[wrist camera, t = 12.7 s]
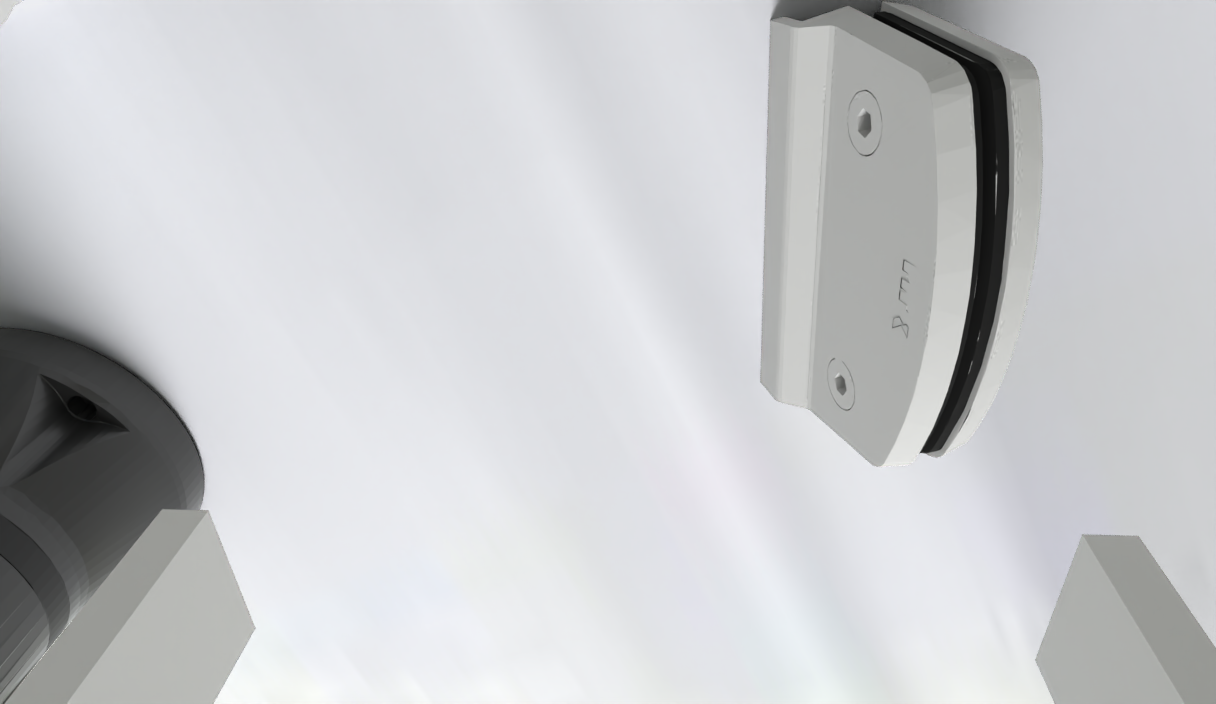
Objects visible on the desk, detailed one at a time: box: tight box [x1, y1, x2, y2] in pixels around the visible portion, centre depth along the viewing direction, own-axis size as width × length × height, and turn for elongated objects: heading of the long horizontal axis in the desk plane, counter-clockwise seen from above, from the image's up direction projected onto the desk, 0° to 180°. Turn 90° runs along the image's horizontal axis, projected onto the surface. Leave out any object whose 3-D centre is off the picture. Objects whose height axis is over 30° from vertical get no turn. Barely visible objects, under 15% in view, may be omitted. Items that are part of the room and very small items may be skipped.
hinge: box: [761, 1, 1043, 467], centre depth 29 cm, size 17×5×10 cm, turn 4°
